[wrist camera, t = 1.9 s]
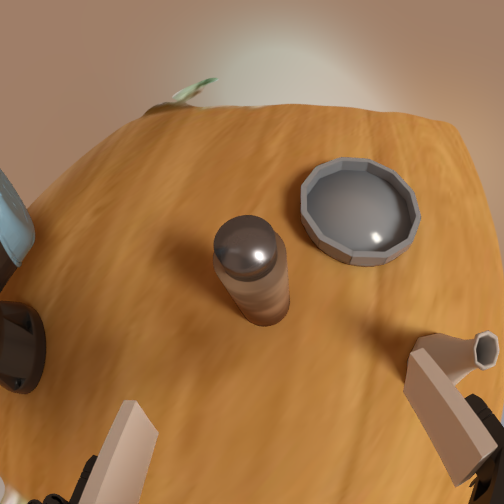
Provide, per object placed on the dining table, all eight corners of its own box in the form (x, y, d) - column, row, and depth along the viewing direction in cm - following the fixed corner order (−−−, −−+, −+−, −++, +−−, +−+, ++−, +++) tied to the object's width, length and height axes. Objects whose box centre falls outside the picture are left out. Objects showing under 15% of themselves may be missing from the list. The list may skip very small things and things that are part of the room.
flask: (411, 328, 25) (457, 299, 16) (461, 337, 23) (514, 311, 14) (398, 394, 22) (446, 394, 13) (451, 399, 20) (508, 395, 11)
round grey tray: (299, 265, 30) (300, 255, 28) (300, 168, 37) (300, 155, 35) (422, 267, 28) (430, 258, 25) (400, 173, 34) (404, 162, 32)
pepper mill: (238, 324, 28) (198, 276, 17) (243, 279, 30) (212, 208, 19) (288, 327, 27) (282, 280, 16) (290, 280, 30) (286, 208, 18)
